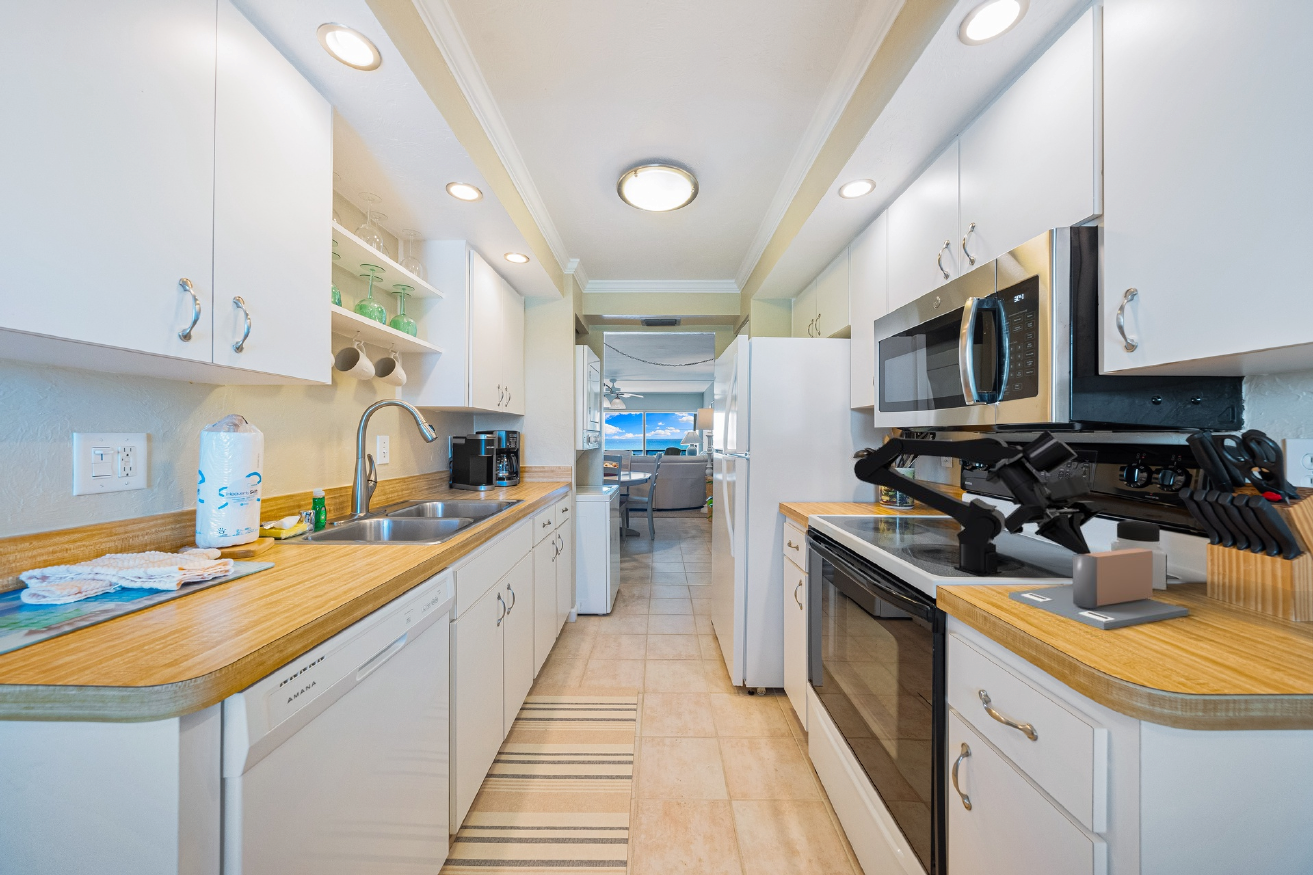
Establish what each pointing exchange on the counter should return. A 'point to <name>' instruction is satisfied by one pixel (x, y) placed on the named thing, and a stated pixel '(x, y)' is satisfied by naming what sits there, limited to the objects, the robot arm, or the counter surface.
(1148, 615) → the label board
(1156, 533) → the medicine bottle
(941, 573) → the counter surface
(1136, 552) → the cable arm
